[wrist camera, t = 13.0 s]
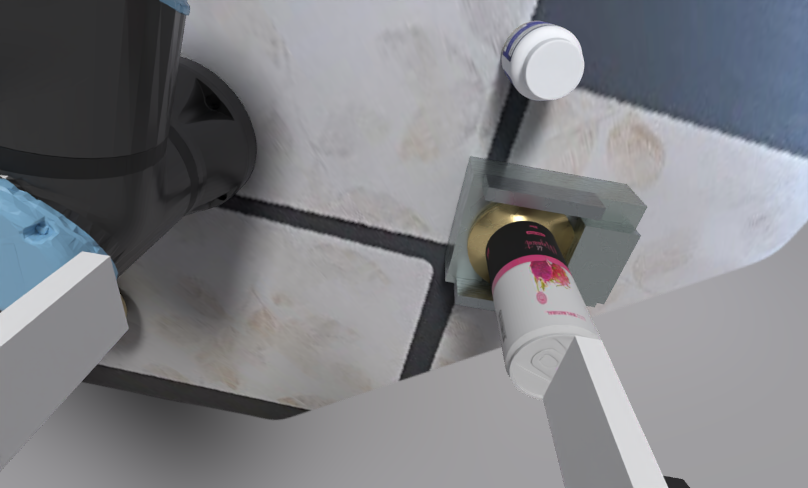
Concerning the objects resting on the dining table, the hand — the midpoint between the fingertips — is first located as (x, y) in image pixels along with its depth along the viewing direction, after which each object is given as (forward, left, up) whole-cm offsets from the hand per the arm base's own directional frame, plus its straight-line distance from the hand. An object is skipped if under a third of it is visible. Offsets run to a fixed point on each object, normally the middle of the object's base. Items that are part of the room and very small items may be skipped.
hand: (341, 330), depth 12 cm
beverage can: (+13, -11, -26) cm, 31 cm away
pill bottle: (+10, +5, -32) cm, 34 cm away
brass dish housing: (+15, -11, -32) cm, 37 cm away
